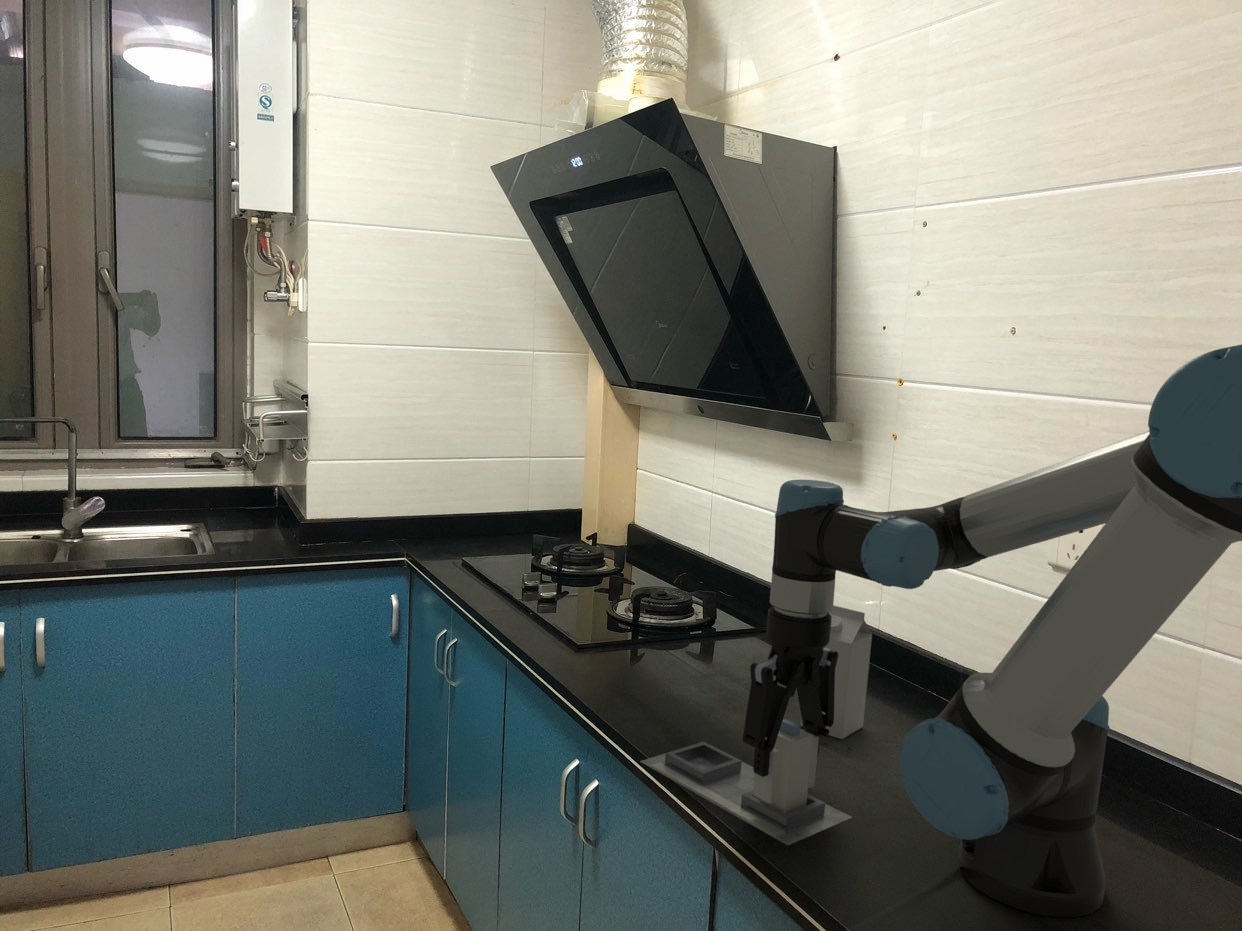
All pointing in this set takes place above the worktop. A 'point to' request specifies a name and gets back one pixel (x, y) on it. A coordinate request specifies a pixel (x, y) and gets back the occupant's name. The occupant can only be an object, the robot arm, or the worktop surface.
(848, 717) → the milk carton
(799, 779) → the plug
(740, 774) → the panel
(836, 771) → the worktop surface
